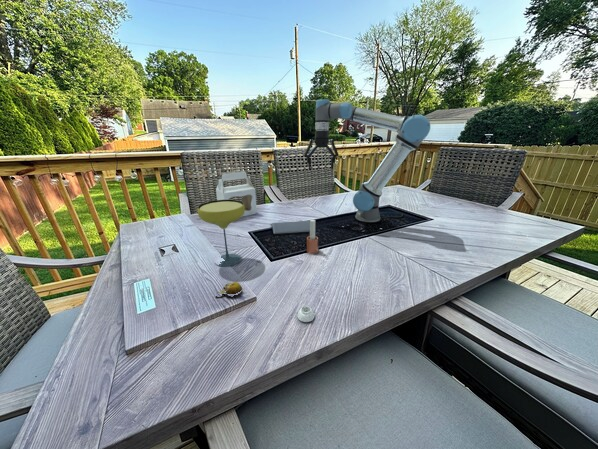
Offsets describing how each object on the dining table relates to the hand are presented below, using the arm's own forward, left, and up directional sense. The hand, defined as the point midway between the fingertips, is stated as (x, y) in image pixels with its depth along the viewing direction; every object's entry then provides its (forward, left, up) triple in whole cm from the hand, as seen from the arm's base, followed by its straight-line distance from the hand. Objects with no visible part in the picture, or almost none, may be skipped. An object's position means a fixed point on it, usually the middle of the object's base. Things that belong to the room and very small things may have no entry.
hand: (320, 169), depth 145 cm
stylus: (+14, +43, -31) cm, 55 cm away
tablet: (+19, +12, -32) cm, 39 cm away
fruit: (+49, +68, -32) cm, 90 cm away
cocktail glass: (+52, +45, -32) cm, 76 cm away
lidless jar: (+25, +85, -32) cm, 94 cm away
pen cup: (+14, +43, -32) cm, 55 cm away
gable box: (+52, -20, -32) cm, 64 cm away
